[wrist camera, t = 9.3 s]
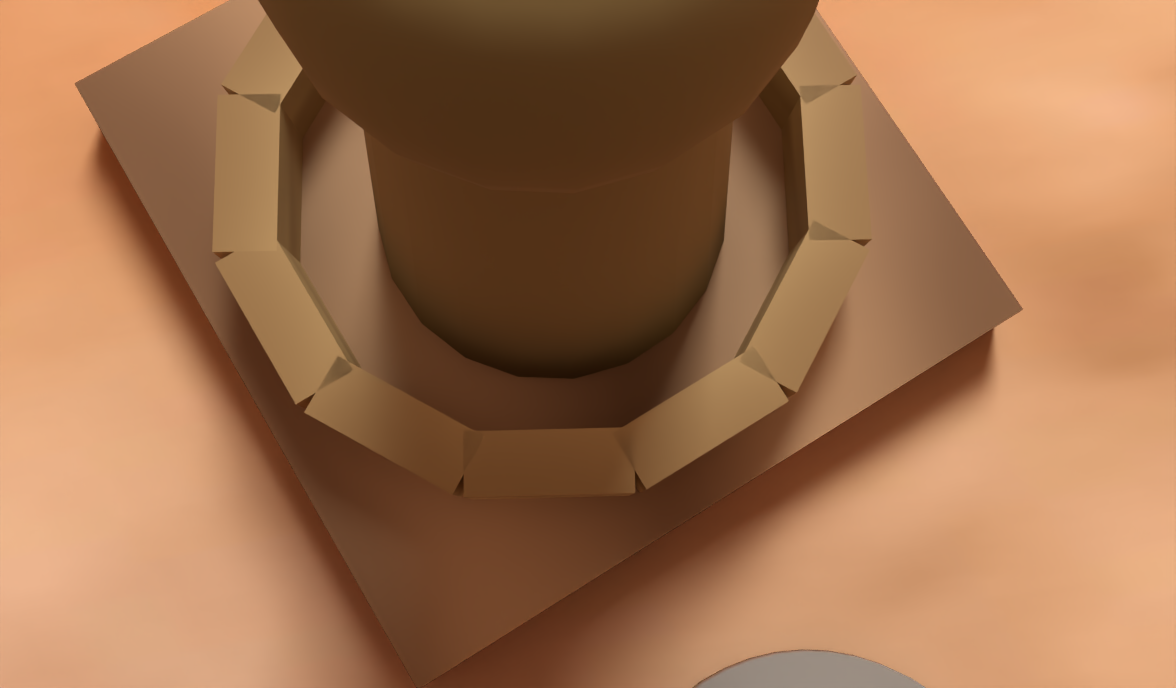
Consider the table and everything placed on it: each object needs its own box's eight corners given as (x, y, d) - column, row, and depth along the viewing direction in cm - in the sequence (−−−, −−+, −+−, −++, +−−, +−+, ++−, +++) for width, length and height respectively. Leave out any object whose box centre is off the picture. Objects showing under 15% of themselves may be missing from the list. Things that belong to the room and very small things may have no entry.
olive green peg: (786, 144, 19) (1097, -390, 8) (622, 444, 18) (713, 316, 7) (487, -14, 19) (386, -732, 8) (311, 271, 18) (-72, -110, 7)
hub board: (427, 678, 18) (403, 706, 15) (103, 109, 20) (31, 45, 17) (994, 322, 19) (1063, 290, 17) (648, -185, 21) (660, -289, 18)
